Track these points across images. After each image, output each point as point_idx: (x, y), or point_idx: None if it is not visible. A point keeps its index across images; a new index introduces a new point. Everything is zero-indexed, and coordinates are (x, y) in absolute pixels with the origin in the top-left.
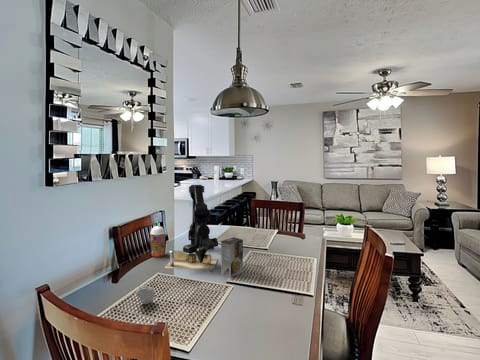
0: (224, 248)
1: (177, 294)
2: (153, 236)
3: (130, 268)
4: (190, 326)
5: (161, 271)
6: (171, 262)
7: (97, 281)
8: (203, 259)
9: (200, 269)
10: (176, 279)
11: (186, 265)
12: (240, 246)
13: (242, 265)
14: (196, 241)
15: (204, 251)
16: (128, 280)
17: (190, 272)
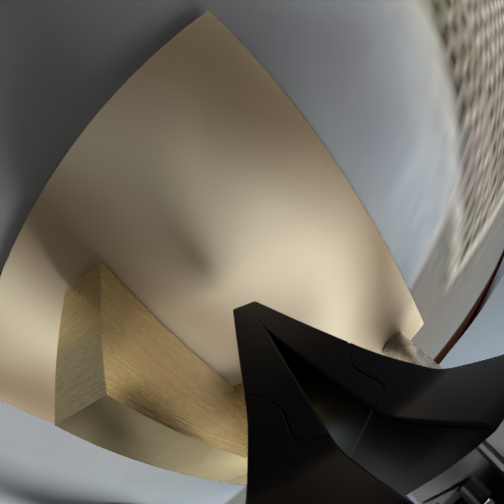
0: None
1: (494, 4)
2: (412, 501)
3: (442, 350)
4: None
5: (441, 289)
6: (420, 349)
7: (501, 277)
8: (190, 375)
9: (322, 146)
10: (473, 129)
11: (342, 328)
12: None
13: None
14: None
15: (363, 472)
16: (498, 248)
17: (393, 172)
